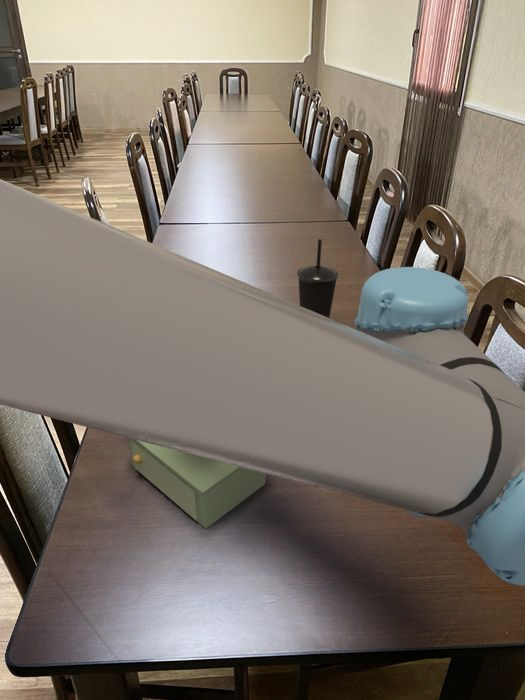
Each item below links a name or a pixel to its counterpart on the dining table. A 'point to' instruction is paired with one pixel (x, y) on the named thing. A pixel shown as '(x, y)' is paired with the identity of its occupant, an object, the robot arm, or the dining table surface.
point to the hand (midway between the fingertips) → (152, 320)
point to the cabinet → (195, 480)
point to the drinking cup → (317, 286)
